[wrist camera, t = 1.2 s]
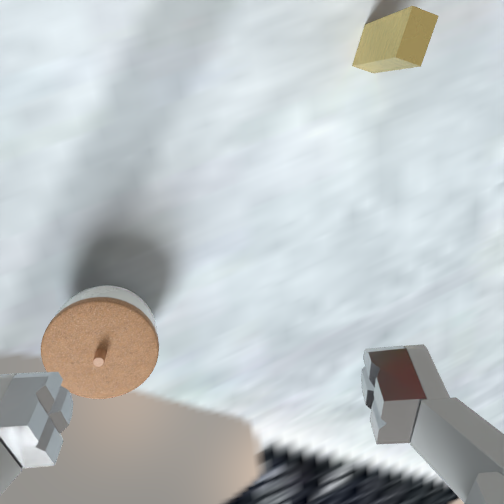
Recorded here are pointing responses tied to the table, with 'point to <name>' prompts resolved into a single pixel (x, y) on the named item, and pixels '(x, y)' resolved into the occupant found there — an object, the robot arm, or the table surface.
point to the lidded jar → (101, 342)
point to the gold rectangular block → (395, 41)
